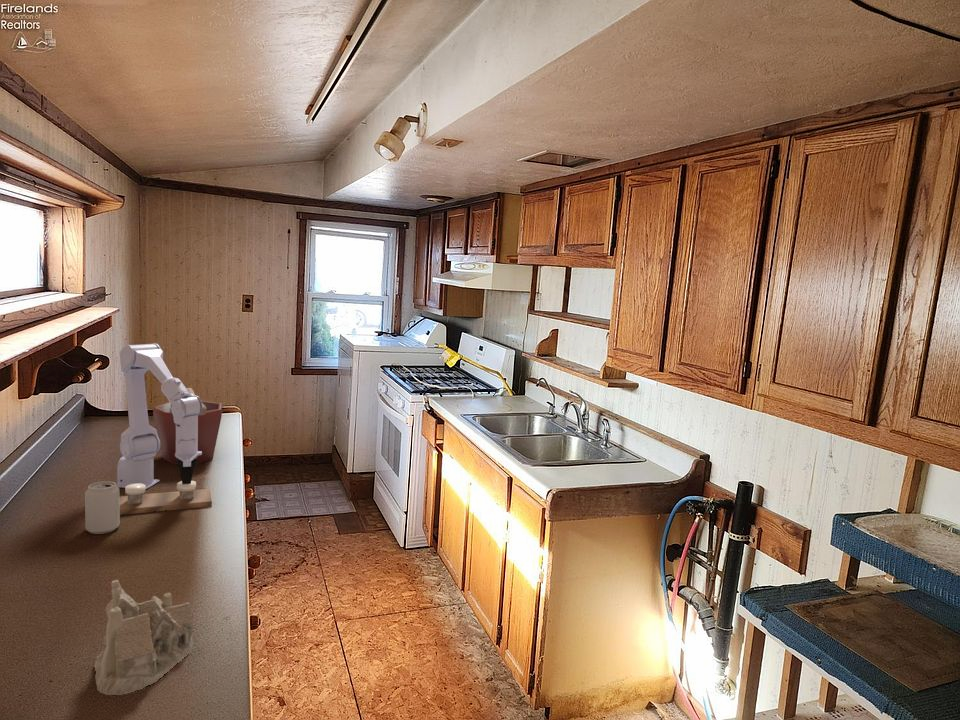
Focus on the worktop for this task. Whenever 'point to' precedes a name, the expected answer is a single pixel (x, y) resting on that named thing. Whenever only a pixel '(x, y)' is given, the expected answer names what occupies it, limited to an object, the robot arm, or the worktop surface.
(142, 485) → the plunger
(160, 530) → the worktop surface
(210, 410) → the bucket
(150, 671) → the ceramic cottage
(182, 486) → the plunger
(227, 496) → the worktop surface
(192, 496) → the stand
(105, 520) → the can
